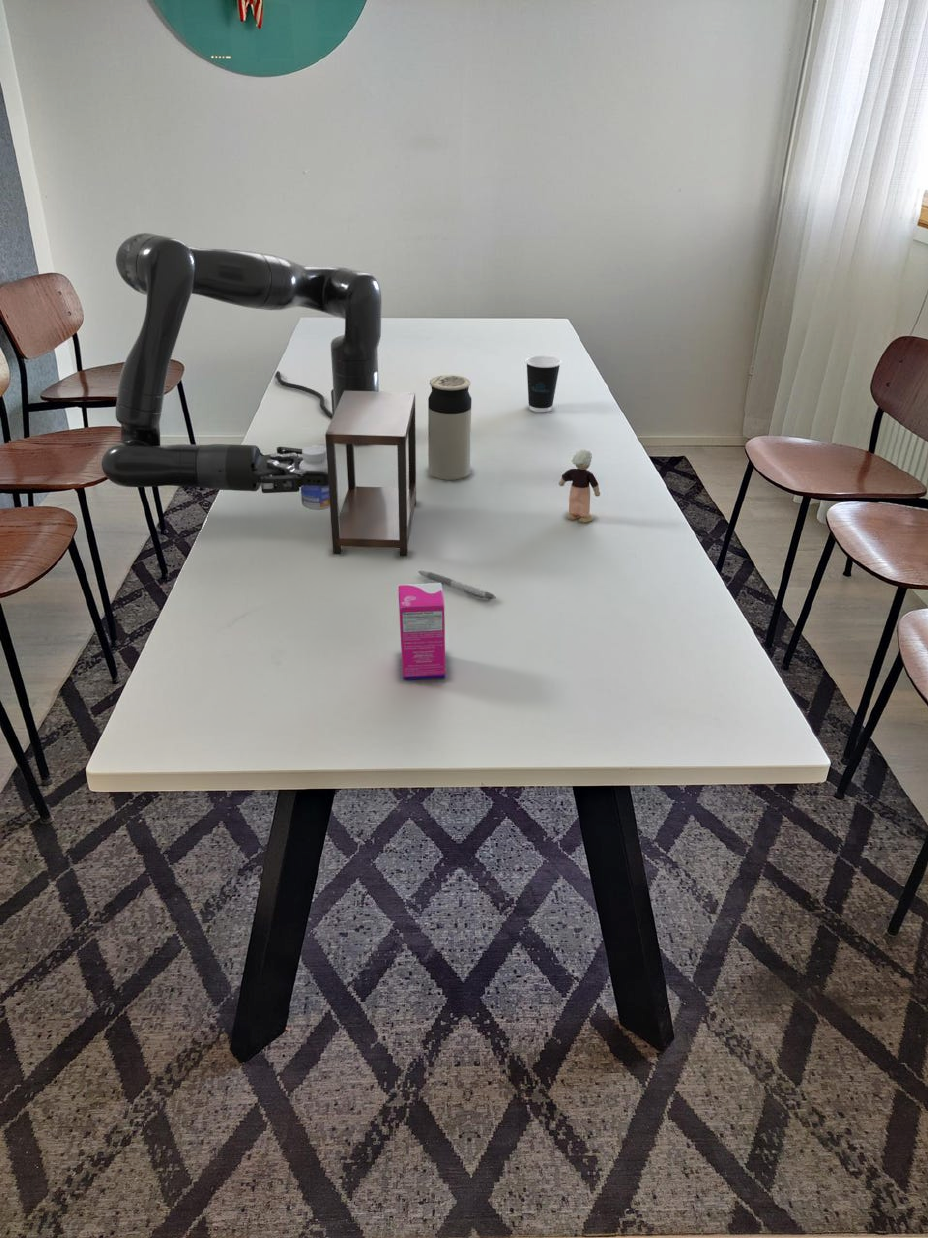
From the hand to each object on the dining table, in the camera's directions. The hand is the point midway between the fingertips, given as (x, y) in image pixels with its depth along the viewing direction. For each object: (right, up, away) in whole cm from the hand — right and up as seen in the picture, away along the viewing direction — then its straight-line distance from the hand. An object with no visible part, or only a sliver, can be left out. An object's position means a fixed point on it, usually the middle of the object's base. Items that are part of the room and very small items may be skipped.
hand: (331, 471), depth 150 cm
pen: (+21, -20, -11) cm, 31 cm away
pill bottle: (-3, -5, +3) cm, 7 cm away
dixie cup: (+39, +23, +57) cm, 73 cm away
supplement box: (+16, -31, -29) cm, 45 cm away
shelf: (+7, -9, +5) cm, 12 cm away
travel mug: (+19, +4, +25) cm, 32 cm away
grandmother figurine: (+42, -7, +10) cm, 44 cm away
